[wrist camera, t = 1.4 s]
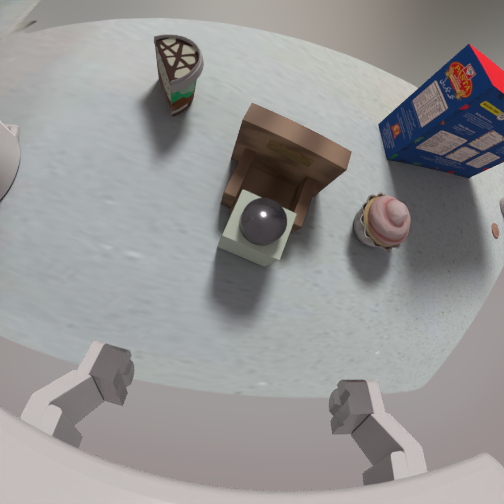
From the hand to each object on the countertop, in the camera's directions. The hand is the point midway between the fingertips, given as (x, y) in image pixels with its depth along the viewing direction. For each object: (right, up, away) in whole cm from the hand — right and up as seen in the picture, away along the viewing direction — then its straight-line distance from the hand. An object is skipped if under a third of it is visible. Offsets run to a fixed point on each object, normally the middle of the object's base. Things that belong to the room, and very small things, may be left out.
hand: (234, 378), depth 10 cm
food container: (-11, +32, +33) cm, 47 cm away
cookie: (+63, +10, +45) cm, 78 cm away
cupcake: (+20, +9, +36) cm, 42 cm away
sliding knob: (0, +7, +31) cm, 32 cm away
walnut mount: (+3, +13, +33) cm, 35 cm away
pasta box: (+40, +26, +42) cm, 64 cm away
